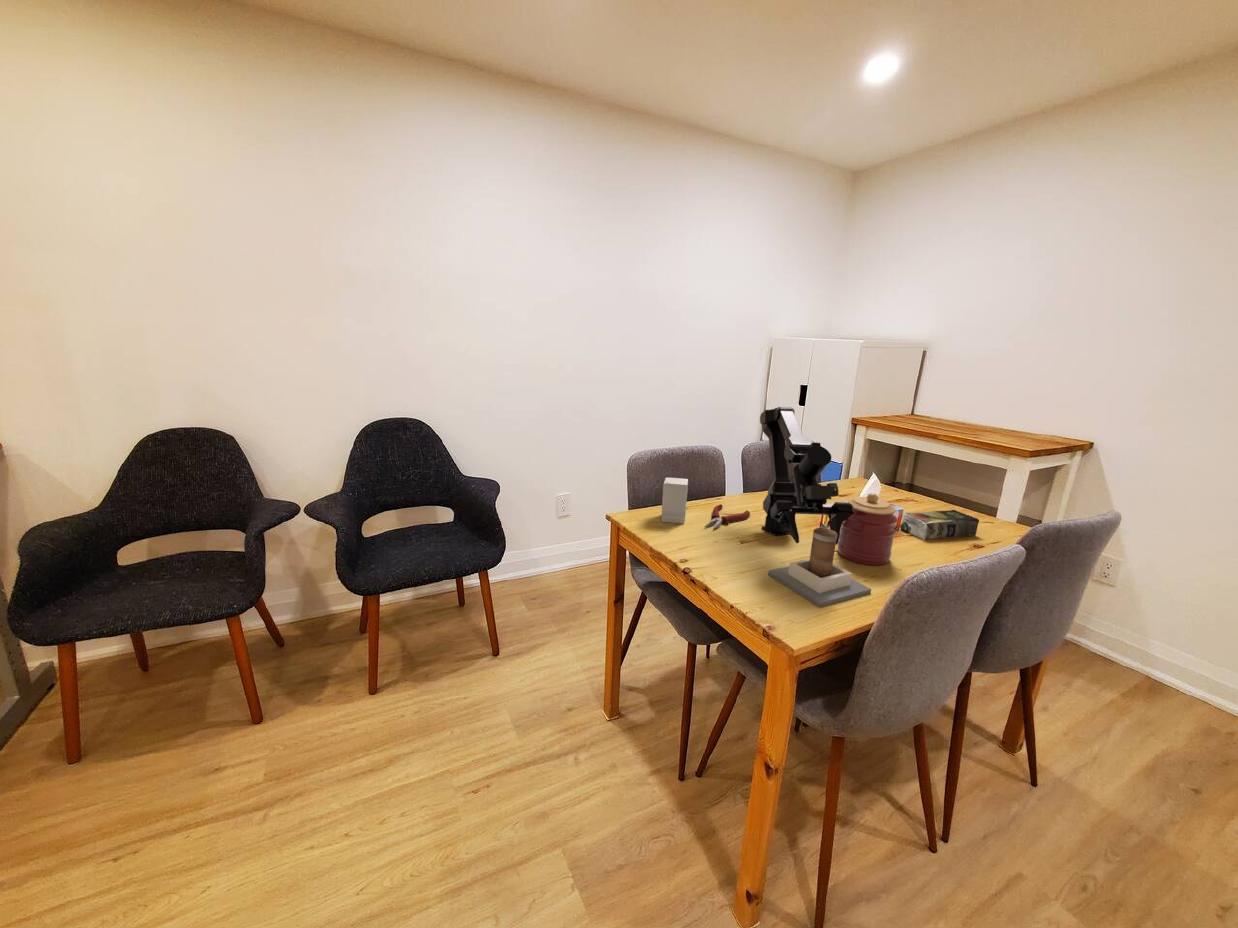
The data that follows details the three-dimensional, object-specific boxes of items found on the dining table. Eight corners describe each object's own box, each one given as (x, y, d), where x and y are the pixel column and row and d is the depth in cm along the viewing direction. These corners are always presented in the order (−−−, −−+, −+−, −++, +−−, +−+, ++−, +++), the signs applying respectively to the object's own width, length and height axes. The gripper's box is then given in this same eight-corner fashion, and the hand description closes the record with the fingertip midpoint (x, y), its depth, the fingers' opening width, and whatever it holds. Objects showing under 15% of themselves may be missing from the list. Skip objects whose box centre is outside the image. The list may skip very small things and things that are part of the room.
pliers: (691, 527, 148) (692, 519, 148) (718, 509, 164) (718, 502, 164) (726, 536, 142) (727, 528, 141) (750, 517, 158) (751, 510, 157)
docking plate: (816, 563, 125) (818, 549, 124) (870, 592, 111) (873, 577, 110) (768, 574, 118) (769, 559, 117) (819, 607, 104) (822, 590, 103)
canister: (826, 549, 134) (835, 488, 130) (859, 542, 139) (869, 484, 135) (865, 569, 122) (877, 503, 118) (901, 562, 128) (913, 498, 123)
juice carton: (921, 541, 142) (925, 521, 140) (896, 529, 151) (899, 510, 150) (976, 538, 147) (981, 518, 145) (948, 526, 156) (952, 508, 154)
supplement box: (684, 524, 149) (687, 485, 146) (660, 521, 150) (662, 483, 147) (686, 516, 156) (688, 478, 153) (663, 513, 158) (665, 476, 154)
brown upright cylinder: (811, 572, 118) (817, 526, 115) (832, 579, 115) (840, 532, 112) (803, 579, 114) (810, 532, 111) (826, 587, 111) (833, 538, 108)
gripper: (779, 468, 117) (788, 529, 109) (857, 471, 116) (871, 532, 109) (766, 489, 126) (774, 546, 118) (838, 492, 126) (850, 549, 118)
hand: (817, 543), depth 116 cm, fingers open, 9 cm apart
